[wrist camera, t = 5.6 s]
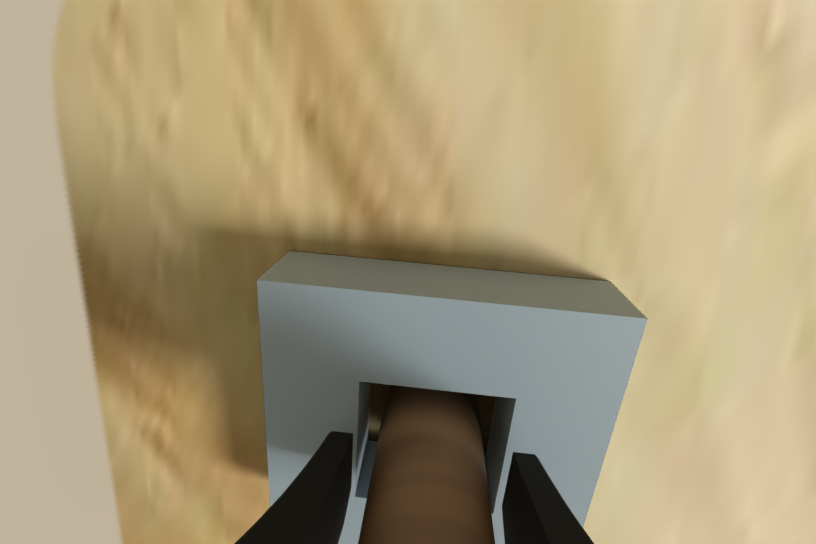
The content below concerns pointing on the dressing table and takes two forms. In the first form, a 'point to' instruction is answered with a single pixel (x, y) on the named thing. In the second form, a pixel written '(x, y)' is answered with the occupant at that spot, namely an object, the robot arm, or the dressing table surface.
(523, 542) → the robot arm
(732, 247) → the dressing table surface
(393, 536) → the peg
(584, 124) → the dressing table surface
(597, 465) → the socket block
